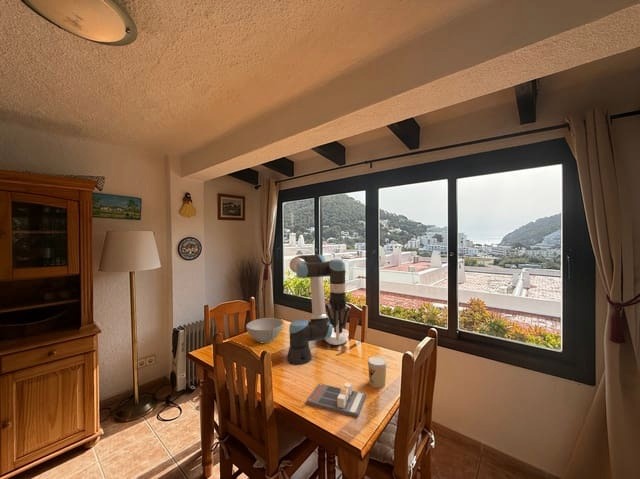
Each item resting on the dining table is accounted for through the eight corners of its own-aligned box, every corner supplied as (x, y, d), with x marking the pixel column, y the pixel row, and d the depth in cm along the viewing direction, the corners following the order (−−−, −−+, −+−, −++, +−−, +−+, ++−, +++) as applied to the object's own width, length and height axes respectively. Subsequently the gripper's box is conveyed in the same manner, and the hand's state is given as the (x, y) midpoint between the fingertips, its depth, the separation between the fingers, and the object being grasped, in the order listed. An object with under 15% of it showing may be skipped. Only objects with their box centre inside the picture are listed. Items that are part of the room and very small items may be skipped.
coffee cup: (366, 379, 138) (365, 357, 137) (383, 378, 139) (383, 356, 138) (371, 390, 128) (370, 365, 128) (389, 388, 129) (389, 364, 129)
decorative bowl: (280, 347, 179) (280, 330, 178) (241, 348, 179) (241, 330, 179) (286, 332, 205) (285, 317, 205) (252, 333, 206) (251, 318, 206)
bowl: (353, 340, 188) (352, 330, 188) (341, 350, 173) (341, 339, 173) (331, 335, 198) (331, 326, 198) (318, 344, 183) (317, 334, 183)
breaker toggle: (340, 399, 119) (340, 390, 119) (342, 396, 121) (342, 386, 121) (346, 401, 117) (346, 391, 117) (348, 397, 120) (348, 388, 120)
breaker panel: (306, 404, 119) (306, 392, 119) (319, 386, 132) (319, 375, 132) (358, 417, 109) (357, 404, 109) (366, 396, 123) (365, 385, 123)
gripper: (322, 292, 126) (323, 340, 127) (348, 294, 121) (348, 344, 122) (328, 288, 133) (328, 334, 134) (352, 290, 128) (353, 338, 129)
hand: (338, 339), depth 128 cm, fingers closed
